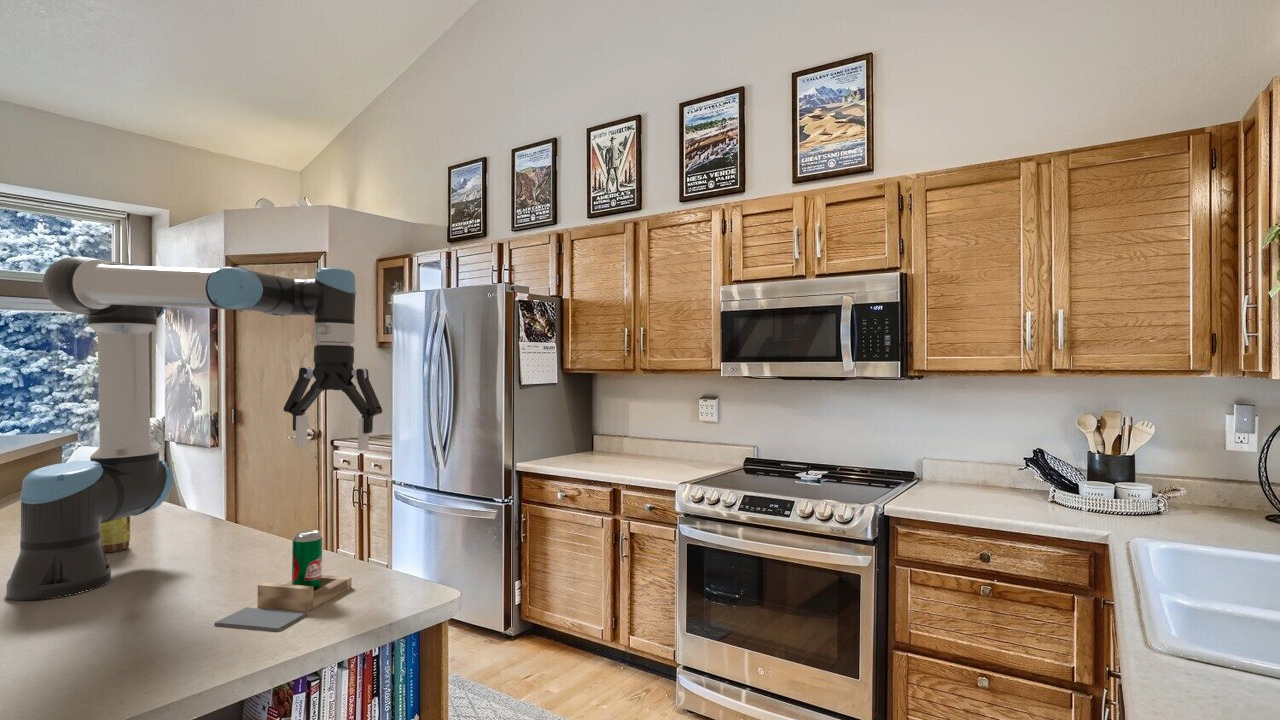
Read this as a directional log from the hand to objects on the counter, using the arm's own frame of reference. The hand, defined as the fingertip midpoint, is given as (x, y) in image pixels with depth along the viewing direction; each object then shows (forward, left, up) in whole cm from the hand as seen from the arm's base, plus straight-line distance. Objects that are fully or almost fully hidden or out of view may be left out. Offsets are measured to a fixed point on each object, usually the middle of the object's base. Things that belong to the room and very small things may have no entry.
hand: (332, 448), depth 135 cm
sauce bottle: (-60, +8, -27) cm, 67 cm away
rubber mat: (+3, -22, -27) cm, 35 cm away
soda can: (+3, -10, -27) cm, 29 cm away
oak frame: (+3, -10, -27) cm, 29 cm away
